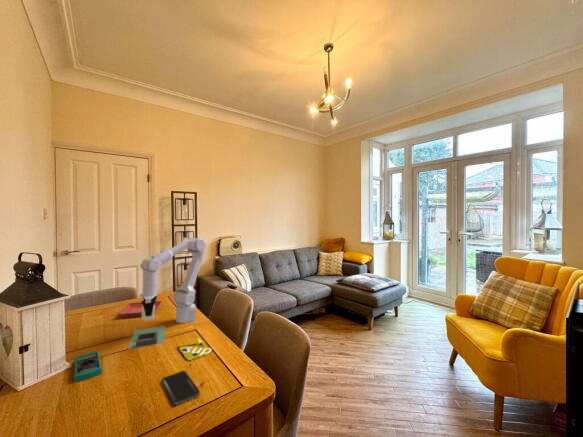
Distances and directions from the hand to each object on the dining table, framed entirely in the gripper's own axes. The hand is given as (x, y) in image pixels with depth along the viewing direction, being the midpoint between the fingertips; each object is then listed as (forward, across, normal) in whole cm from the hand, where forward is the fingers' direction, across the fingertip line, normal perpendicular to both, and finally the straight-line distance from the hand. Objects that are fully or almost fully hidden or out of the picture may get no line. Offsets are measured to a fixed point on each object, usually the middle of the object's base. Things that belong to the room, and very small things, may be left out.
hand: (149, 314), depth 115 cm
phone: (+11, +44, +13) cm, 47 cm away
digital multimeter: (+11, +20, -17) cm, 28 cm away
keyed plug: (+2, 0, 0) cm, 2 cm away
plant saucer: (+10, -34, -6) cm, 36 cm away
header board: (+10, +3, 0) cm, 10 cm away
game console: (+11, +19, +18) cm, 28 cm away
